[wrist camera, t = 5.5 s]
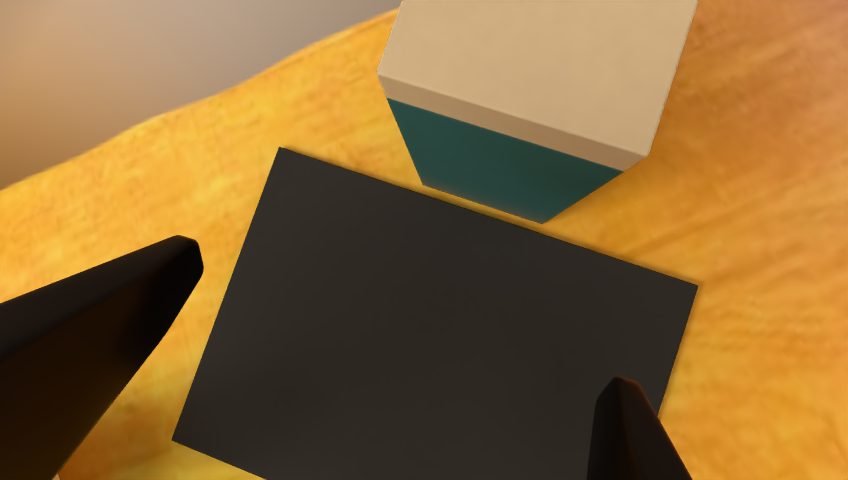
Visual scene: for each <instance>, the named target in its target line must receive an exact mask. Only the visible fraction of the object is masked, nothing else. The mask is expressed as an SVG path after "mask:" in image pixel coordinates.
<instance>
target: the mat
mask: <svg viewBox="0 0 848 480" xmlns="http://www.w3.org/2000/svg"><path fill="white" fill-rule="evenodd" d="M697 289H698V286H697V285H694V284H691V283H688V282H685V281H682V280H679V279H676V278H673V277H670V276H667V275H664V274H661V273H658V272H655V271H652V270H649V269H646V268H643V267H640V266H637V265H634V264H631V263H628V262H625V261H622V260H619V259H616V258H613V257H610V256H607V255H604V254H601V253H598V252H595V251H592V250H589V249H586V248H583V247H580V246H577V245H574V244H571V243H568V242H565V241H562V240H559V239H556V238H553V237H550V236H547V235H544V234H541V233H538V232H535V231H531V230H528V229H525V228H522V227H519V226H516V225H513V224H510V223H507V222H504V221H501V220H498V219H495V218H492V217H489V216H486V215H483V214H480V213H477V212H474V211H471V210H468V209H465V208H462V207H459V206H456V205H453V204H450V203H447V202H444V201H441V200H438V199H435V198H432V197H429V196H426V195H423V194H420V193H417V192H414V191H411V190H408V189H405V188H402V187H399V186H396V185H393V184H390V183H387V182H384V181H381V180H378V179H375V178H372V177H369V176H366V175H363V174H360V173H357V172H354V171H350V170H347V169H344V168H341V167H338V166H335V165H332V164H329V163H326V162H323V161H320V160H317V159H314V158H311V157H308V156H305V155H302V154H299V153H296V152H293V151H290V150H287V149H284V148H281V147H279V149H278V151H277V154H276V157H275V160H274V162H273V165H272V168H271V170H270V173H269V176H268V179H267V181H266V184H265V187H264V189H263V192H262V195H261V198H260V200H259V203H258V206H257V208H256V211H255V214H254V217H253V219H252V222H251V225H250V228H249V230H248V233H247V236H246V238H245V241H244V244H243V247H242V249H241V252H240V255H239V257H238V260H237V263H236V266H235V268H234V271H233V274H232V277H231V279H230V282H229V285H228V287H227V290H226V293H225V296H224V298H223V301H222V304H221V306H220V309H219V312H218V315H217V317H216V320H215V323H214V326H213V328H212V331H211V334H210V336H209V339H208V342H207V345H206V347H205V350H204V353H203V355H202V358H201V361H200V364H199V366H198V369H197V372H196V374H195V377H194V380H193V383H192V385H191V388H190V391H189V394H188V396H187V399H186V402H185V404H184V407H183V410H182V413H181V415H180V418H179V421H178V423H177V426H176V429H175V432H174V434H173V437H172V441H175V442H177V443H179V444H182V445H184V446H187V447H189V448H191V449H194V450H196V451H199V452H201V453H203V454H206V455H208V456H211V457H213V458H216V459H218V460H220V461H223V462H225V463H228V464H230V465H232V466H235V467H237V468H240V469H242V470H244V471H247V472H249V473H252V474H254V475H257V476H259V477H261V478H264V479H266V480H586V477H587V467H588V459H589V451H590V442H591V434H592V426H593V418H594V409H595V404H596V400H597V398H598V396H599V395H600V393H601V392H602V391H603V390H604V388H605V387H606V386H607V385H608V383H609V382H610V381H611V380H612V378H613V377H615V376H621V377H624V378H628V379H631V380H634V381H636V382H637V383H638V384H639V385H640V387H641V388H642V390H643V392H644V394H645V395H646V397H647V399H648V401H649V403H650V404H651V406H652V408H653V410H654V411H655V413H656V415H657V416H658V412H659V409H660V406H661V403H662V400H663V397H664V393H665V390H666V387H667V384H668V381H669V378H670V374H671V371H672V368H673V365H674V362H675V359H676V355H677V352H678V349H679V346H680V343H681V340H682V336H683V333H684V330H685V327H686V324H687V321H688V317H689V314H690V311H691V308H692V305H693V302H694V298H695V295H696V292H697Z"/></svg>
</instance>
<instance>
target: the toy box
mask: <svg viewBox="0 0 848 480" xmlns="http://www.w3.org/2000/svg"><path fill="white" fill-rule="evenodd" d="M698 2H699V0H402V2H401V5H400V8H399V10H398V13H397V16H396V19H395V22H394V24H393V27H392V30H391V33H390V36H389V38H388V41H387V44H386V47H385V49H384V52H383V55H382V58H381V61H380V63H379V66H378V69H377V76H378V78H379V81H380V83H381V85H382V88H383V90H384V93H385V95H386V97H387V100H388V103H389V105H390V108H391V110H392V112H393V115H394V117H395V120H396V122H397V124H398V127H399V129H400V132H401V134H402V136H403V139H404V141H405V143H406V146H407V148H408V151H409V153H410V155H411V158H412V160H413V163H414V165H415V167H416V170H417V172H418V175H419V177H420V179H421V182H422V184H423V185H425V186H428V187H431V188H434V189H437V190H440V191H443V192H446V193H449V194H452V195H455V196H458V197H461V198H464V199H467V200H470V201H473V202H477V203H480V204H483V205H486V206H489V207H492V208H495V209H498V210H501V211H504V212H507V213H510V214H513V215H516V216H519V217H522V218H525V219H528V220H531V221H534V222H537V223H540V224H543V223H545V222H546V221H548V220H549V219H551V218H553V217H554V216H556V215H557V214H559V213H560V212H562V211H563V210H565V209H567V208H568V207H570V206H571V205H573V204H574V203H576V202H578V201H579V200H581V199H582V198H584V197H585V196H587V195H588V194H590V193H592V192H593V191H595V190H596V189H598V188H599V187H601V186H603V185H604V184H606V183H607V182H609V181H610V180H612V179H613V178H615V177H617V176H618V175H620V174H621V173H623V172H624V171H625V170H627V169H629V168H630V167H632V166H633V165H635V164H636V163H638V162H639V161H641V160H643V159H644V158H646V157H647V156H648V155H649V153H650V149H651V146H652V143H653V140H654V137H655V134H656V131H657V128H658V125H659V122H660V119H661V116H662V113H663V110H664V106H665V103H666V100H667V97H668V94H669V91H670V88H671V85H672V82H673V79H674V76H675V73H676V70H677V67H678V64H679V60H680V57H681V54H682V51H683V48H684V45H685V42H686V39H687V36H688V33H689V30H690V27H691V24H692V21H693V17H694V14H695V11H696V8H697V5H698Z"/></svg>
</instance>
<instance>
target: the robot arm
mask: <svg viewBox="0 0 848 480" xmlns="http://www.w3.org/2000/svg"><path fill="white" fill-rule="evenodd" d="M203 269H204V266H203V261H202V257H201V253H200V248H199V245H198V243H197V241H196V240H194V239H191V238H188V237H185V236H181V235H176V236H172V237H170V238H167V239H165V240H162V241H160V242H157V243H154V244H152V245H149V246H147V247H144V248H142V249H139V250H136V251H134V252H131V253H129V254H126V255H124V256H121V257H118V258H116V259H113V260H111V261H108V262H106V263H103V264H101V265H98V266H95V267H93V268H90V269H88V270H85V271H83V272H80V273H77V274H75V275H72V276H70V277H67V278H65V279H62V280H59V281H57V282H54V283H52V284H49V285H47V286H44V287H41V288H39V289H36V290H34V291H31V292H29V293H26V294H23V295H21V296H18V297H16V298H13V299H11V300H8V301H5V302H3V303H0V480H53V479H54V478H55V476H56V475H57V474H58V472H59V471H60V470H61V469H62V467H63V466H64V465H65V463H66V462H67V461H68V460H69V458H70V457H71V456H72V454H73V453H74V452H75V451H76V449H77V448H78V447H79V445H80V444H81V443H82V442H83V440H84V439H85V438H86V436H87V435H88V434H89V433H90V431H91V430H92V429H93V427H94V426H95V425H96V424H97V422H98V421H99V420H100V418H101V417H102V416H103V414H104V413H105V412H106V411H107V409H108V408H109V407H110V405H111V404H112V403H113V402H114V400H115V399H116V398H117V396H118V395H119V394H120V393H121V391H122V390H123V389H124V387H125V386H126V385H127V384H128V382H129V381H130V380H131V378H132V377H133V376H134V375H135V373H136V372H137V371H138V369H139V368H140V367H141V366H142V364H143V363H144V362H145V360H146V359H147V358H148V357H149V355H150V354H151V353H152V351H153V350H154V349H155V348H156V346H157V345H158V344H159V342H160V341H161V340H162V338H163V337H164V336H165V334H166V333H167V331H168V330H169V328H170V327H171V325H172V323H173V322H174V320H175V319H176V317H177V315H178V314H179V312H180V310H181V309H182V307H183V306H184V304H185V302H186V301H187V299H188V298H189V296H190V294H191V293H192V291H193V289H194V288H195V286H196V285H197V283H198V281H199V280H200V278H201V276H202V274H203ZM586 480H692V478H691V476H690V474H689V472H688V471H687V469H686V467H685V465H684V463H683V462H682V460H681V458H680V456H679V455H678V453H677V451H676V449H675V447H674V446H673V444H672V442H671V440H670V438H669V437H668V435H667V433H666V431H665V429H664V428H663V426H662V424H661V422H660V420H659V419H658V417H657V415H656V413H655V411H654V410H653V408H652V406H651V404H650V403H649V401H648V399H647V397H646V395H645V394H644V392H643V390H642V388H641V387H640V385H639V384H638V383H637V382H636V381H634V380H631V379H628V378H624V377H621V376H615V377H613V378H612V380H611V381H610V382H609V383H608V385H607V386H606V387H605V388H604V390H603V391H602V392H601V393H600V395H599V396H598V398H597V400H596V404H595V409H594V418H593V426H592V434H591V442H590V451H589V459H588V467H587V477H586Z"/></svg>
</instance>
